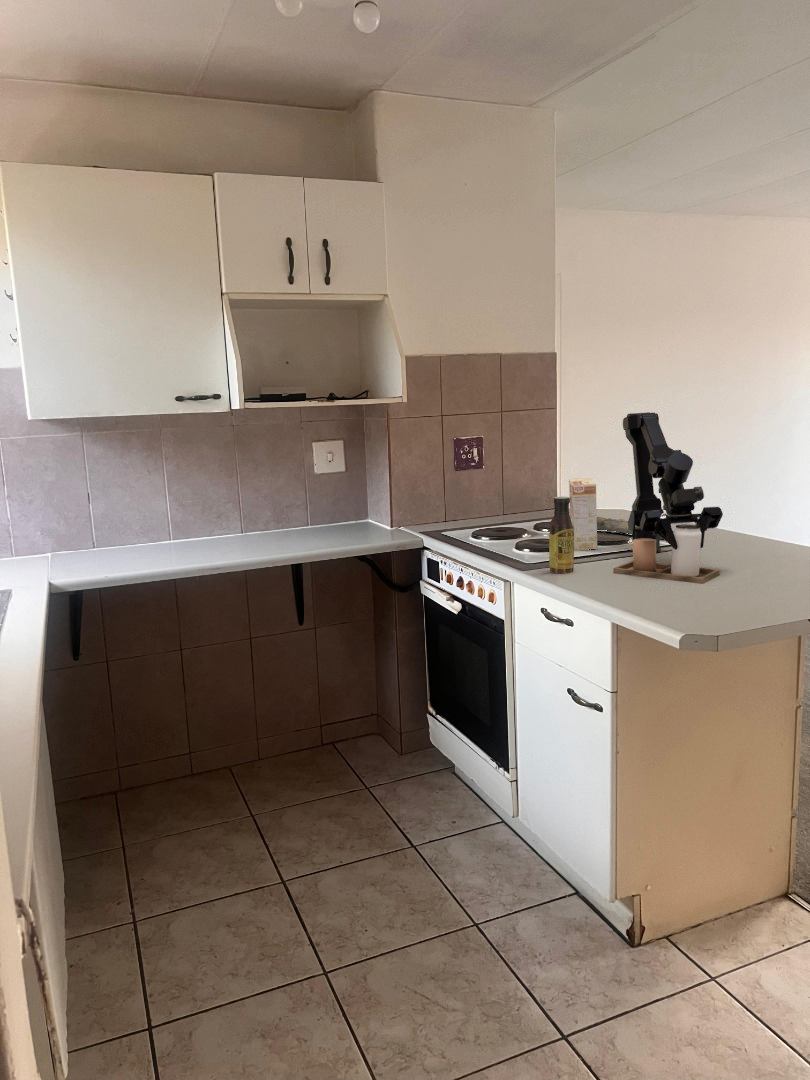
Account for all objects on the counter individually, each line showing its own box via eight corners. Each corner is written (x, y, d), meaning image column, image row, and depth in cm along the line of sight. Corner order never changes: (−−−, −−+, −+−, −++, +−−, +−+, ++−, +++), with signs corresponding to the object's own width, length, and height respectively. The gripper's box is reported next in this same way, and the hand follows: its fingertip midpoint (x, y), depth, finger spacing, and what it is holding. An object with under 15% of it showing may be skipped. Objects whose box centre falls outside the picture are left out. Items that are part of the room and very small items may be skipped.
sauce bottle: (559, 577, 206) (557, 499, 202) (544, 573, 211) (542, 497, 208) (580, 573, 209) (578, 496, 205) (564, 569, 214) (562, 494, 211)
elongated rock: (661, 547, 242) (682, 543, 248) (662, 529, 241) (683, 526, 247) (574, 528, 270) (595, 526, 276) (575, 513, 269) (596, 510, 275)
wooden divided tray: (613, 575, 204) (613, 568, 204) (632, 567, 211) (632, 560, 211) (702, 586, 189) (702, 578, 188) (720, 577, 196) (720, 569, 195)
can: (701, 573, 198) (705, 525, 195) (695, 579, 192) (698, 530, 190) (674, 570, 201) (677, 523, 199) (667, 576, 196) (670, 527, 193)
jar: (629, 572, 204) (628, 541, 202) (639, 568, 208) (639, 537, 206) (649, 575, 200) (649, 543, 198) (660, 570, 204) (660, 539, 202)
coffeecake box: (570, 541, 251) (568, 478, 248) (593, 540, 250) (592, 477, 247) (573, 551, 237) (571, 484, 233) (598, 550, 236) (596, 483, 232)
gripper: (643, 478, 196) (657, 530, 187) (720, 473, 196) (738, 525, 187) (634, 506, 205) (647, 557, 196) (708, 501, 205) (724, 552, 196)
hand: (689, 547), depth 193 cm, fingers closed on can, 6 cm apart
